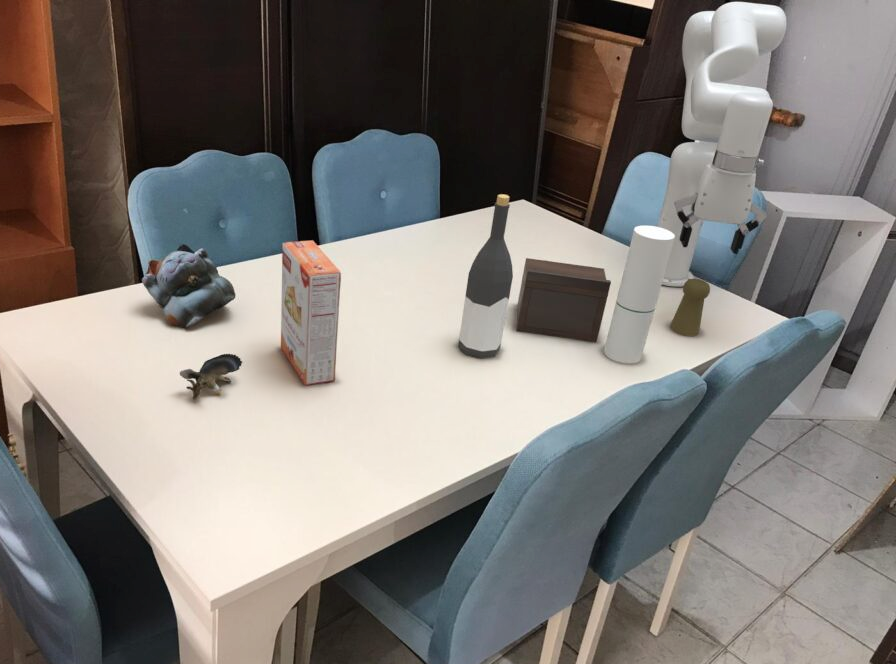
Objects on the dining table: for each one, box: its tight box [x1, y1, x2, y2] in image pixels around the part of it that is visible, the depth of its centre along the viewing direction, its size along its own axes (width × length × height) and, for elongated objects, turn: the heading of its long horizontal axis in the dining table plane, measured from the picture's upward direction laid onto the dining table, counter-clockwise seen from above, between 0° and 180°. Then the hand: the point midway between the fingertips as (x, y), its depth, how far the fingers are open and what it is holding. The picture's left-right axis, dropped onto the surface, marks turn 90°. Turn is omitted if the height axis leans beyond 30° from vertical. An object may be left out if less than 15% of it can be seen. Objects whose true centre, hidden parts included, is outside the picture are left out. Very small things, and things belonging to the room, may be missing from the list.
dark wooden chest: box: [515, 257, 612, 343], centre depth 170 cm, size 12×16×13 cm
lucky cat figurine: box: [141, 243, 237, 329], centre depth 161 cm, size 15×12×14 cm
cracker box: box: [280, 239, 342, 386], centre depth 144 cm, size 14×6×21 cm, turn 23°
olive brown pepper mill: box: [669, 278, 711, 337], centre depth 173 cm, size 6×6×11 cm
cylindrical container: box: [603, 224, 675, 365], centre depth 157 cm, size 7×7×25 cm
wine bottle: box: [458, 193, 514, 359], centre depth 153 cm, size 8×8×30 cm
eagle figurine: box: [179, 353, 243, 401], centre depth 138 cm, size 8×7×9 cm
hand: (708, 248), depth 167 cm, fingers open, 9 cm apart
